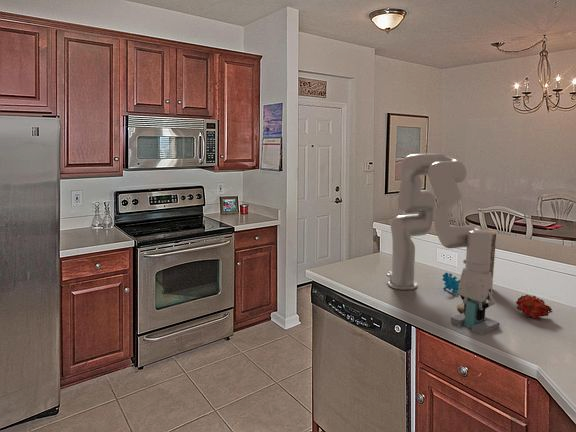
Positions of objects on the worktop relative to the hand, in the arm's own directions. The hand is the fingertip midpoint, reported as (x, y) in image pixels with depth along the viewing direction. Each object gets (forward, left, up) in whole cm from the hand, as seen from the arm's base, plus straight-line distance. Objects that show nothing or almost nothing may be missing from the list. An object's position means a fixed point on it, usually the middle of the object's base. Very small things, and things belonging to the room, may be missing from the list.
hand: (474, 316), depth 152 cm
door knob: (-9, +10, -3) cm, 14 cm away
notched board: (0, 0, -3) cm, 3 cm away
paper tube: (-21, +36, -4) cm, 42 cm away
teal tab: (0, 0, -3) cm, 3 cm away
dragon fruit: (+7, +24, -4) cm, 26 cm away
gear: (-26, +22, -4) cm, 35 cm away
